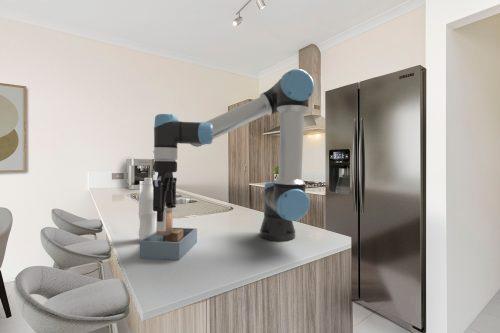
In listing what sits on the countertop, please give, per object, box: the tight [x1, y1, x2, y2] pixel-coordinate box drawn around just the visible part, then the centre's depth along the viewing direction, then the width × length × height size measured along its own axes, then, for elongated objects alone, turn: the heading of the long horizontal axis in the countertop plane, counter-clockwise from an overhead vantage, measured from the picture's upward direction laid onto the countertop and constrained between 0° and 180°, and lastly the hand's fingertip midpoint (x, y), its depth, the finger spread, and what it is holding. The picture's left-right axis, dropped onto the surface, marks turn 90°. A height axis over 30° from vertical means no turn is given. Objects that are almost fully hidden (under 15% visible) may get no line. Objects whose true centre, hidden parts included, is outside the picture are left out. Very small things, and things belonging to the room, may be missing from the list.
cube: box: [165, 229, 183, 242], centre depth 95 cm, size 5×5×5 cm
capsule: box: [156, 212, 173, 236], centre depth 86 cm, size 5×5×7 cm
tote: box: [138, 226, 198, 261], centre depth 90 cm, size 14×18×6 cm
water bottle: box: [138, 177, 157, 241], centre depth 100 cm, size 7×7×25 cm
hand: (164, 228), depth 86 cm, fingers closed on capsule, 5 cm apart
